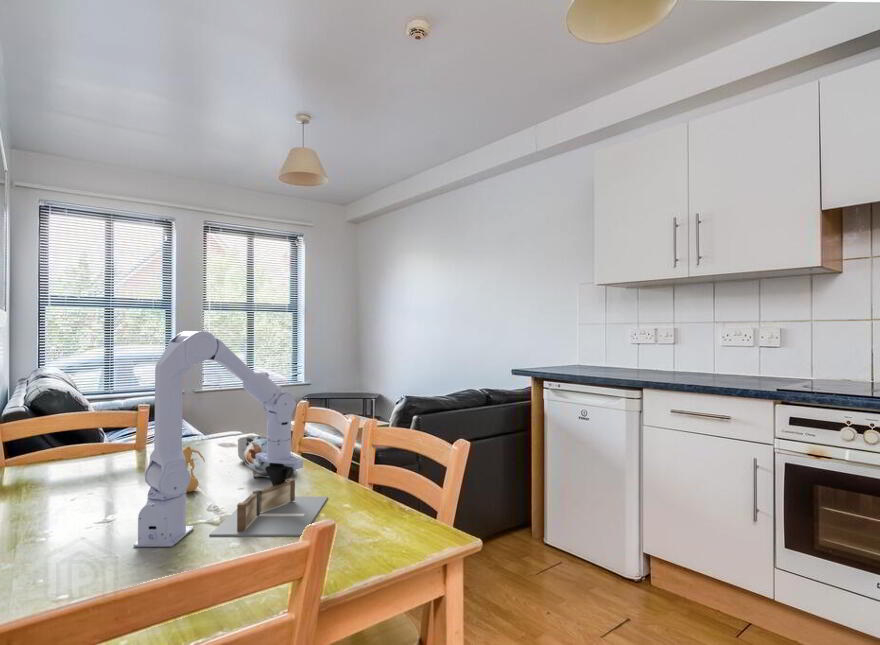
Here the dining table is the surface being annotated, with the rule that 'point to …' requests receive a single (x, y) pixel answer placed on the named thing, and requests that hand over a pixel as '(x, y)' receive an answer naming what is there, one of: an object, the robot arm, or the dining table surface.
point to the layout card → (276, 519)
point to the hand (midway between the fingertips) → (278, 493)
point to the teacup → (242, 445)
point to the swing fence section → (277, 495)
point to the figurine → (193, 481)
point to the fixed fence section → (248, 511)
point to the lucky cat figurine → (250, 457)
